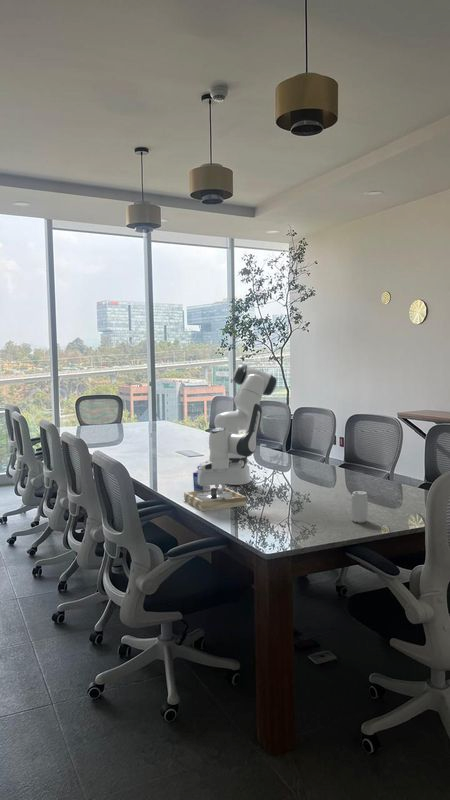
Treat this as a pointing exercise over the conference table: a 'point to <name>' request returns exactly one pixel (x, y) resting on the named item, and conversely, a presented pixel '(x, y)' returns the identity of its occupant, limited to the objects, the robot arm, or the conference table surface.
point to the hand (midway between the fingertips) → (220, 493)
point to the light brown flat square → (215, 504)
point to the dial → (213, 495)
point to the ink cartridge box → (195, 480)
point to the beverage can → (359, 506)
